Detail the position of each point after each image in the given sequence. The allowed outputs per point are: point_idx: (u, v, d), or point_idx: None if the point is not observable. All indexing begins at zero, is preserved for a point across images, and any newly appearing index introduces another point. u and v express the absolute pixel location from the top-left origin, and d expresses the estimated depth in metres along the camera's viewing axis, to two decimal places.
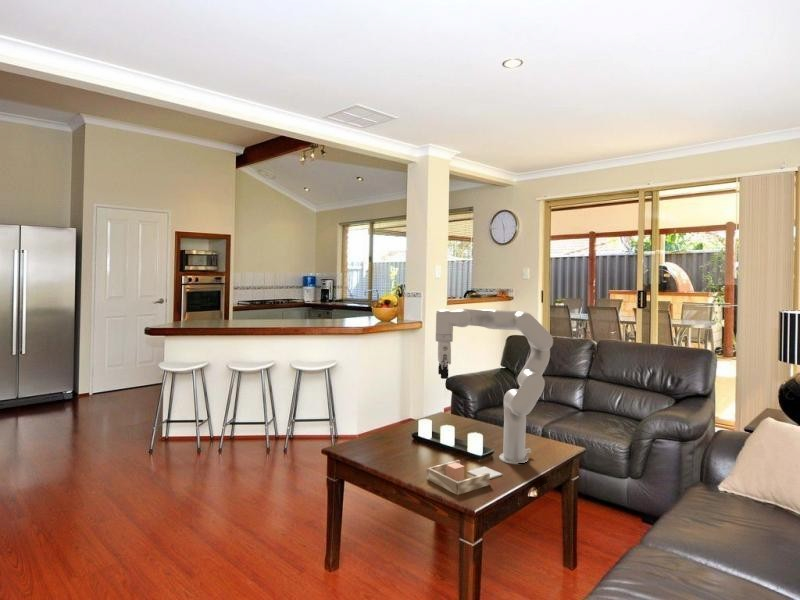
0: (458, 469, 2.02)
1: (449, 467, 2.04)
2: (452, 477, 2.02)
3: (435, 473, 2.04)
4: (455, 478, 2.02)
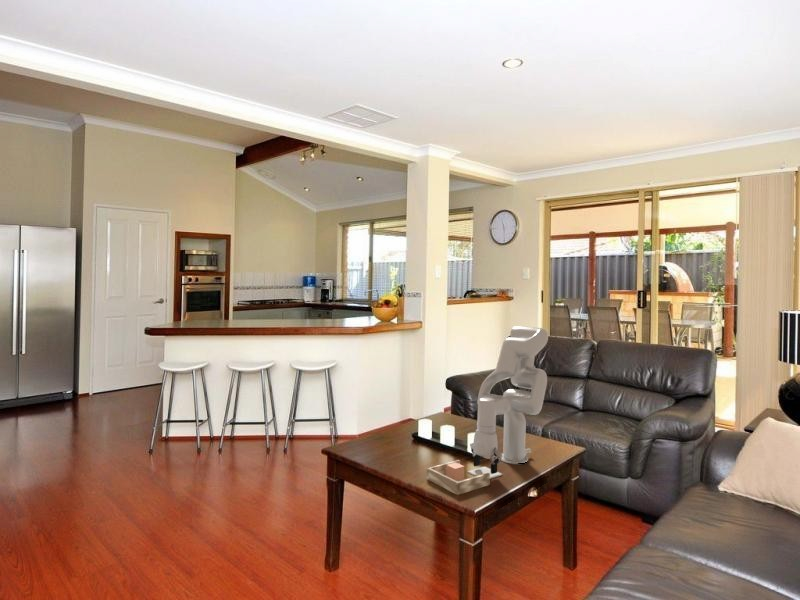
0: (458, 469, 2.02)
1: (449, 467, 2.04)
2: (452, 477, 2.02)
3: (435, 473, 2.04)
4: (455, 478, 2.02)
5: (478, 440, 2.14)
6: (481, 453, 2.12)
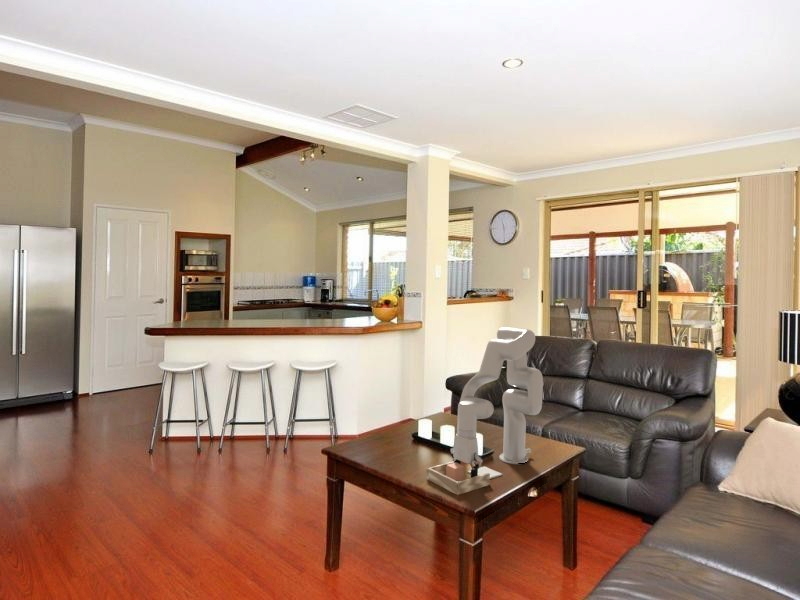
0: (458, 469, 2.02)
1: (449, 467, 2.04)
2: (452, 477, 2.02)
3: (435, 473, 2.04)
4: (455, 478, 2.02)
5: (458, 445, 2.07)
6: (461, 458, 2.06)
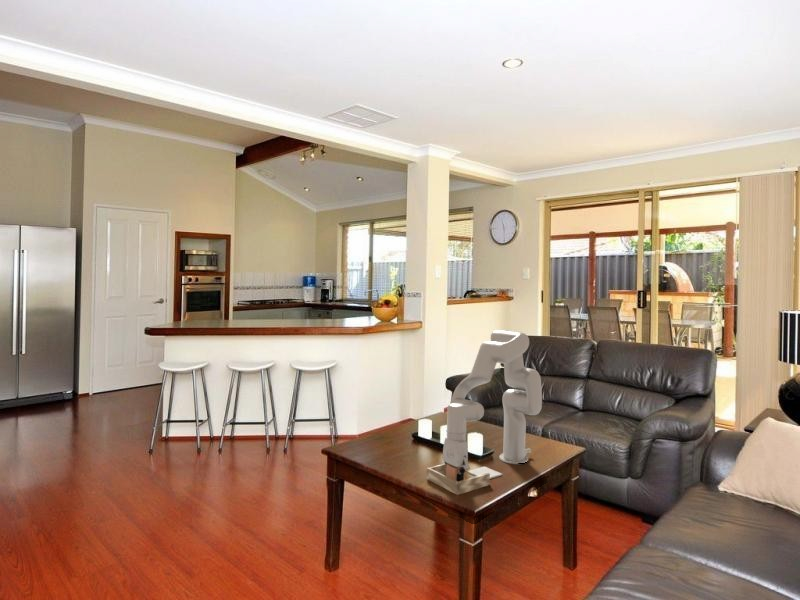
0: None
1: (449, 467, 2.04)
2: (452, 477, 2.02)
3: (435, 473, 2.04)
4: (455, 478, 2.02)
5: (448, 448, 2.04)
6: (450, 461, 2.02)
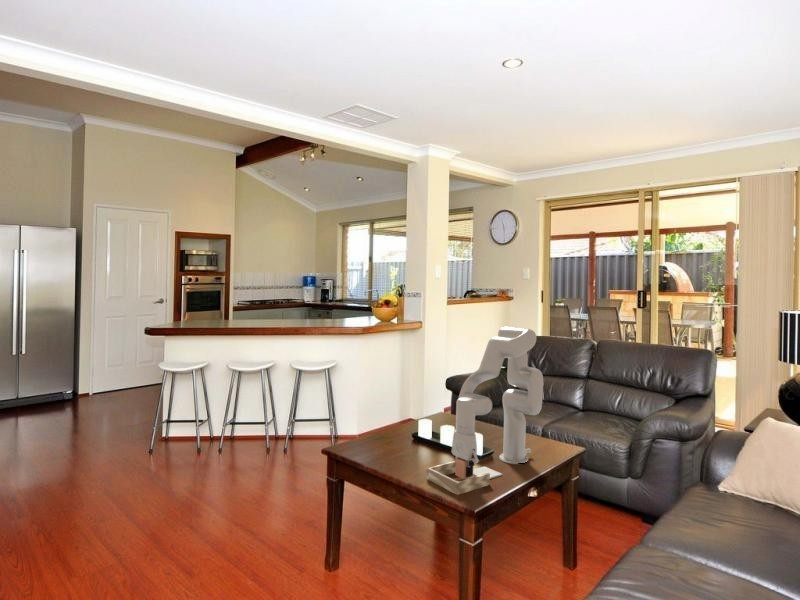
0: None
1: (458, 460, 2.07)
2: (461, 470, 2.05)
3: (435, 473, 2.04)
4: (464, 471, 2.04)
5: (457, 441, 2.06)
6: (460, 455, 2.05)
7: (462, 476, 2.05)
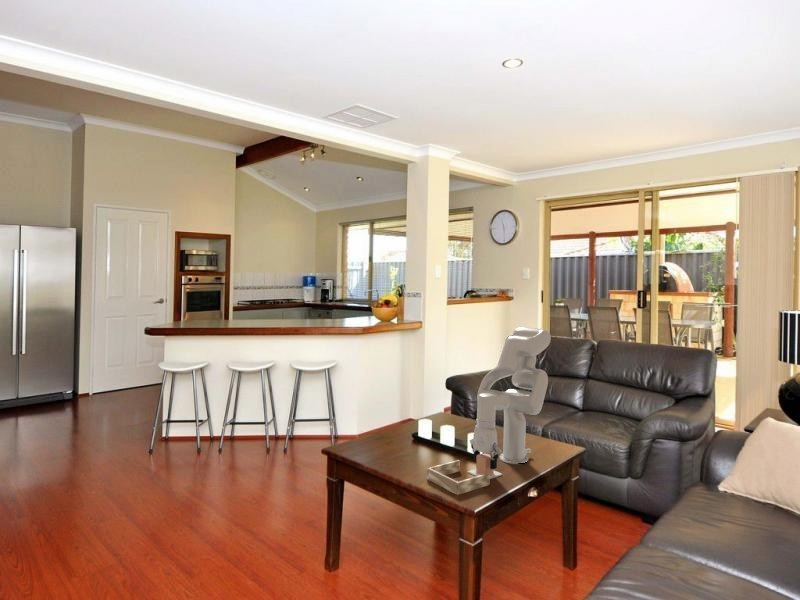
0: (488, 459, 2.12)
1: (479, 457, 2.14)
2: (482, 467, 2.12)
3: (435, 473, 2.04)
4: (485, 468, 2.11)
5: (478, 436, 2.13)
6: (481, 449, 2.12)
7: (483, 473, 2.12)
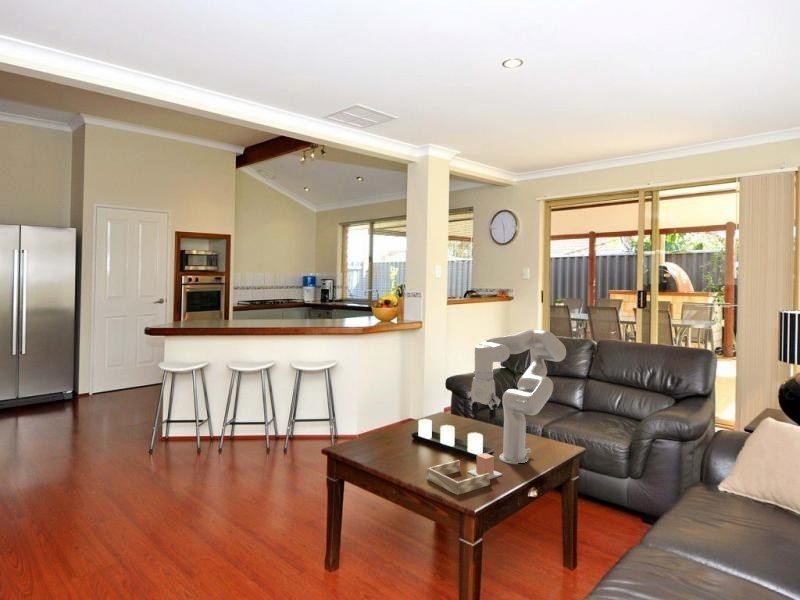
0: (488, 459, 2.12)
1: (479, 457, 2.14)
2: (482, 467, 2.12)
3: (435, 473, 2.04)
4: (485, 468, 2.11)
5: (476, 387, 2.16)
6: (479, 399, 2.15)
7: (483, 473, 2.12)
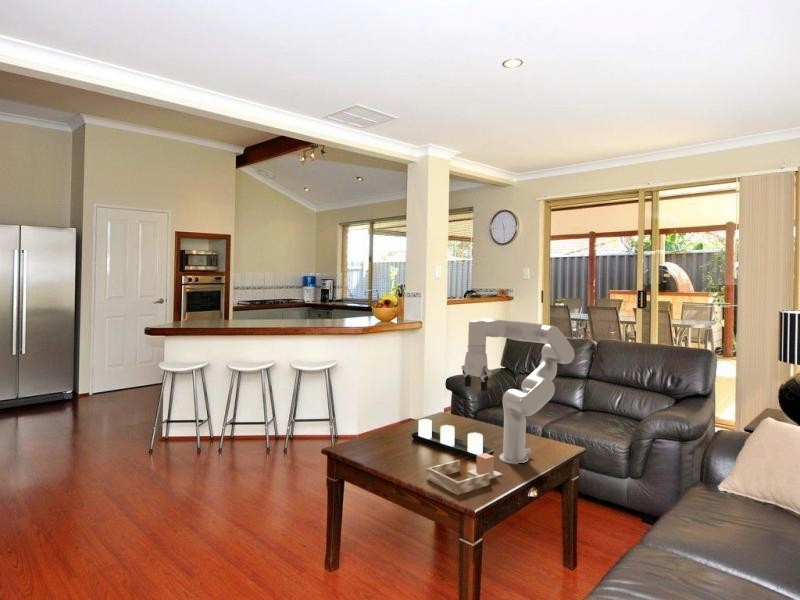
0: (488, 459, 2.12)
1: (479, 457, 2.14)
2: (482, 467, 2.12)
3: (435, 473, 2.04)
4: (485, 468, 2.11)
5: (469, 360, 2.22)
6: (472, 372, 2.21)
7: (483, 473, 2.12)
